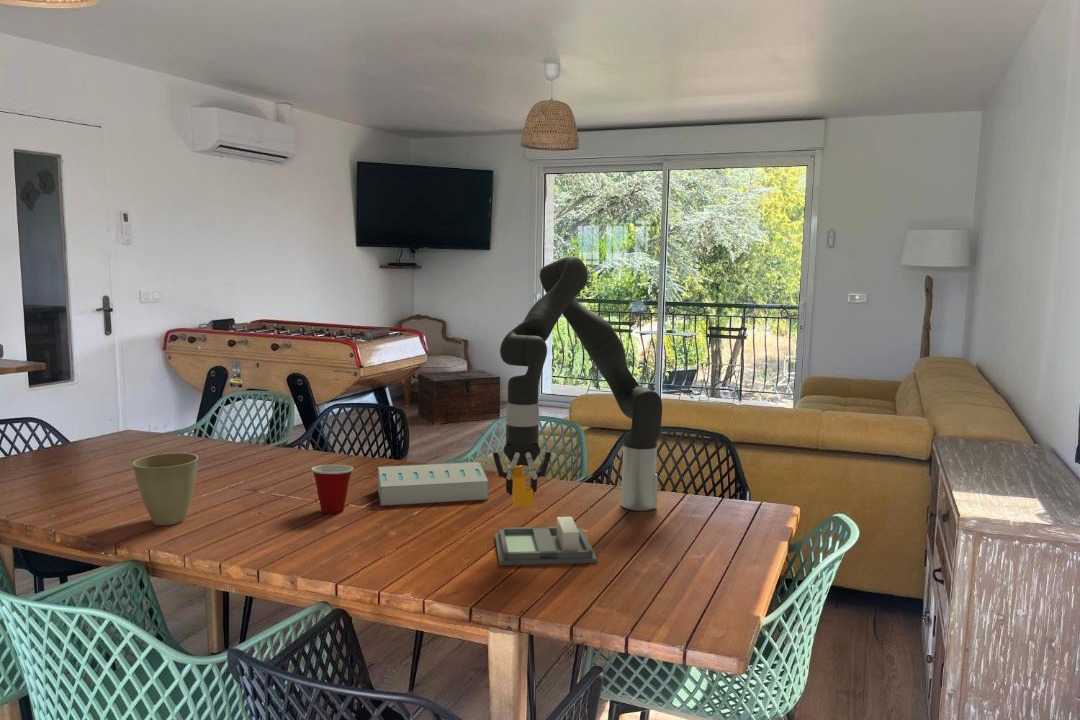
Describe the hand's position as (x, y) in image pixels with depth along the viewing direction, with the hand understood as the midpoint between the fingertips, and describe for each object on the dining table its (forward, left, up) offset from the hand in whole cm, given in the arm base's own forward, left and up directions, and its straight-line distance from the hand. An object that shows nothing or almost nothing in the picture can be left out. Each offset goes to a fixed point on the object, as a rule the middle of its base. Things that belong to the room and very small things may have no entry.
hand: (521, 493), depth 182 cm
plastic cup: (+47, -32, -14) cm, 59 cm away
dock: (-6, 0, -13) cm, 15 cm away
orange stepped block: (0, 0, -1) cm, 1 cm away
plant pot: (+87, -26, -14) cm, 92 cm away
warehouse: (+21, -44, -14) cm, 51 cm away
